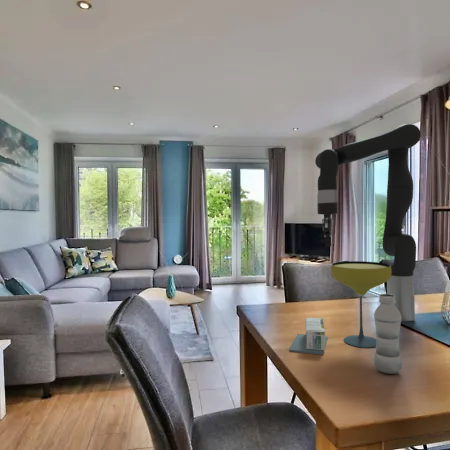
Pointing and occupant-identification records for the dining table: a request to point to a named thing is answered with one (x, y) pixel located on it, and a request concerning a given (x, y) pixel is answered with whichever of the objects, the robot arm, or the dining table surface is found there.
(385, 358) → the plastic bottle
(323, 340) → the syrup box
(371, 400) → the dining table surface
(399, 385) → the dining table surface
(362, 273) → the cocktail glass
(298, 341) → the mat
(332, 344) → the dining table surface
